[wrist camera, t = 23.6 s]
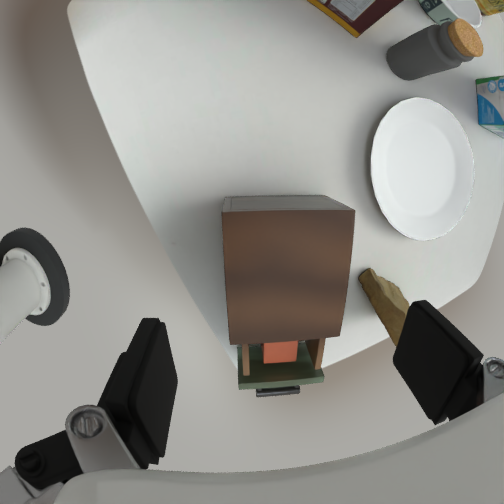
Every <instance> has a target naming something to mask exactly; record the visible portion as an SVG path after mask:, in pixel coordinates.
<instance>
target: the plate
mask: <svg viewBox="0 0 504 504" xmlns="http://www.w3.org/2000/svg"><path fill="white" fill-rule="evenodd" d="M370 159H371V180H372V184H373V189H374V194H375V197H376V199H377V202H378V204H379V206H380V209H381V211H382V213H383V214H384V216H385V217H386V219H387V220H388V221H389V223H390V224H391V226H393V227H394V228H395V229H396V230H397V231H399V232H400V233H401V234H402V235H404V236H406V237H409V238H411V239H414V240H421V241H429V240H433V239H437V238H440V237H441V236H443V235H445V234H446V233H448V232H450V231H451V230H452V229H453V228H454V226H455V225H456V224H457V223H458V222H459V221H460V219H461V218H462V216H463V215H464V213H465V211H466V209H467V207H468V204H469V202H470V199H471V196H472V191H473V186H474V160H473V153H472V149H471V146H470V143H469V140H468V137H467V135H466V133H465V131H464V129H463V127H462V125H461V124H460V122H459V121H458V120H457V119H456V117H455V116H454V115H453V114H452V113H451V112H450V111H449V110H448V109H446V108H445V107H444V106H443V105H441V104H440V103H438V102H435V101H433V100H430V99H428V98H419V97H413V98H409V99H406V100H402V101H400V102H399V103H398V104H396V105H395V106H393V107H392V108H390V110H389V111H388V112H387V113H386V115H385V116H384V117H383V119H382V120H381V121H380V123H379V126H378V128H377V131H376V133H375V136H374V139H373V145H372V150H371V156H370Z"/></svg>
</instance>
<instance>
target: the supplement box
mask: <svg viewBox="0 0 504 504" xmlns="http://www.w3.org/2000/svg"><path fill="white" fill-rule="evenodd" d="M307 1H309V2H310V3H312V4H313V5H314V6H316V7H317V8H319V9H320V10H321V11H323V12H324V13H326V14H327V15H328V16H330V17H331V18H332V19H333V20H335V21H336V22H337V23H339V24H340V25H341V26H342V27H343V28H345V29H346V30H347V31H348V32H349V33H351V34H352V35H353V36H354V37H356V38H357V37H358V36H360V35H361V34H362V33H363V32H364V31H365V30H366V29H368V28H369V27H370V26H371V25H373V24H374V23H375V22H376V21H378V20H379V19H380V18H381V17H383V16H384V15H385V14H386V13H388V12H389V11H390V10H391V9H393V8H394V7H395V6H397V5H398V4H399V3H401V2H402V1H403V0H307Z"/></svg>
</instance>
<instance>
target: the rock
mask: <svg viewBox="0 0 504 504" xmlns="http://www.w3.org/2000/svg"><path fill="white" fill-rule="evenodd" d="M359 281H360V283H361V284H362V288H363V290H364V292H365V293H366V295H367V297H368V298H369V301H370V302H371V304H372V306H373V308H374V309H375V311H376V313H377V315H378V317H379V318H380V320H381V322H382V323H383V325H384V326H385V329H386V330H387V332H388V334H389V336H390V337H391V339H392V341H393V343H394V344H395V346H396V347H397V344H398V341H399V338H400V335H401V332H402V328H403V325H404V322H405V318H406V315H407V311H408V308H409V303H408V301H407V300H406V299H405V298H404V297H403V295H402V293H401V291H400V290H399V288H398V287H397V286H395V285H394V284H393V283H391V282H390V281H387V280H385V279H384V278H382V277H379V276H377V275H376V273H375V272H374V270H373V269H370V268H369V269H367V270H366V271H365V272H364V273H363V274H361V276H360V277H359Z"/></svg>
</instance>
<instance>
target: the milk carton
mask: <svg viewBox="0 0 504 504" xmlns="http://www.w3.org/2000/svg"><path fill="white" fill-rule="evenodd" d="M476 86H477V98H478V118H479V125H481V126H483V127H484V128H486V129H488V130H490V131H492V132H493V133H495V134H497V135H499V136H500V137H502V138H504V76H496V77H489V78H482V79H476Z"/></svg>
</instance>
